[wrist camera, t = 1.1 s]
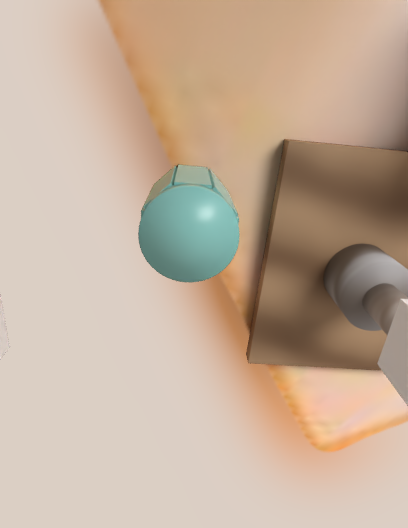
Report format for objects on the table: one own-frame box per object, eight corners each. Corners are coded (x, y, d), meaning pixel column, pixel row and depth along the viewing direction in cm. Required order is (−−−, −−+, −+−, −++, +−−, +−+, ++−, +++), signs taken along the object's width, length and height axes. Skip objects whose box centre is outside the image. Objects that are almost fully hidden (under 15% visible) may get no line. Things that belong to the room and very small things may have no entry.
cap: (153, 162, 24) (139, 182, 17) (231, 169, 24) (245, 192, 18) (150, 236, 26) (137, 278, 20) (222, 242, 26) (232, 285, 20)
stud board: (284, 139, 23) (338, 158, 15) (480, 158, 24) (638, 186, 16) (246, 353, 31) (267, 450, 22) (398, 362, 32) (475, 458, 23)
